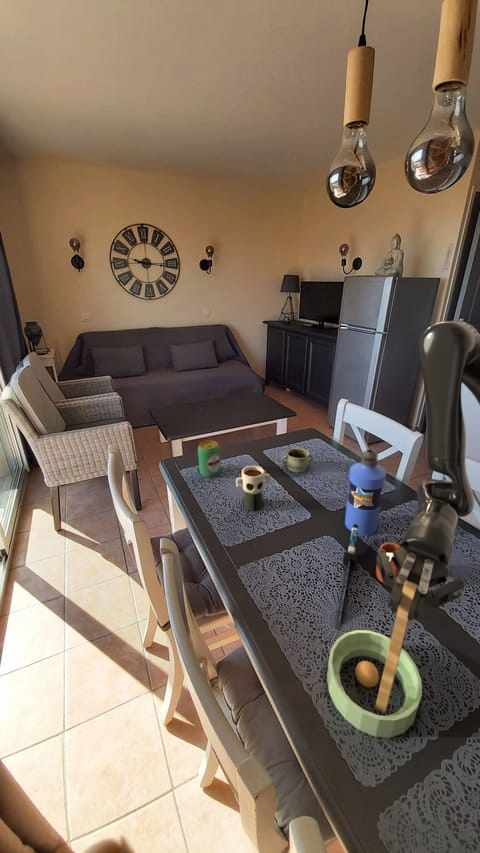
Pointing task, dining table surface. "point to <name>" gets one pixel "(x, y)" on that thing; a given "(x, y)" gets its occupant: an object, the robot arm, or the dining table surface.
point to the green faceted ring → (378, 649)
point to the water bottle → (365, 494)
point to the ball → (366, 674)
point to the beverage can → (209, 459)
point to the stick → (395, 646)
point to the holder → (390, 549)
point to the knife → (350, 558)
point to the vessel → (297, 459)
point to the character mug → (253, 486)
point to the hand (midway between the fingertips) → (402, 611)
